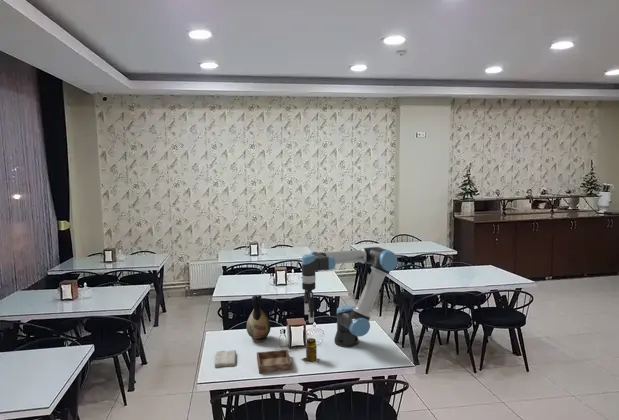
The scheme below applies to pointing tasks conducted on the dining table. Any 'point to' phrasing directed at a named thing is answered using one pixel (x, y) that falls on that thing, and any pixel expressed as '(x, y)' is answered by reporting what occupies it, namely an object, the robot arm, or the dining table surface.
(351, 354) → the dining table surface
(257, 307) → the ceramic jug
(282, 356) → the tray
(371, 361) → the dining table surface
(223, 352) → the washcloth
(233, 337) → the dining table surface
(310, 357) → the condiment
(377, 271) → the robot arm
